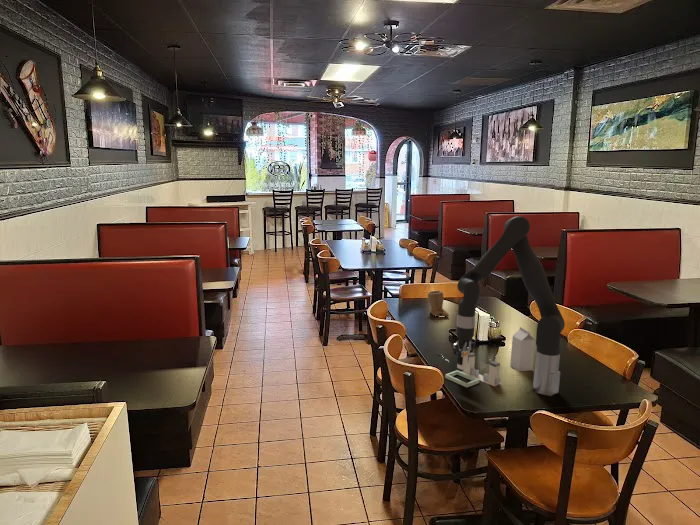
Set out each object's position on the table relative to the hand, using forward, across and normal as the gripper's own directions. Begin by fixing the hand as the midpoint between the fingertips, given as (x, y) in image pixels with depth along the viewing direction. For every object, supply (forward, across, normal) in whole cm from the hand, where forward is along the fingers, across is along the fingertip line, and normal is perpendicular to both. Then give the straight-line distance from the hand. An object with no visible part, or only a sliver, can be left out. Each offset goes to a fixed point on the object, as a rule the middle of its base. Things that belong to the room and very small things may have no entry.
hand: (462, 363), depth 218 cm
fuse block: (+9, +9, -3) cm, 13 cm away
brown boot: (+10, +66, +76) cm, 101 cm away
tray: (+9, 0, 0) cm, 9 cm away
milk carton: (+9, +36, -5) cm, 37 cm away
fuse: (+2, 0, 0) cm, 2 cm away
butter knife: (+10, +14, +18) cm, 25 cm away
